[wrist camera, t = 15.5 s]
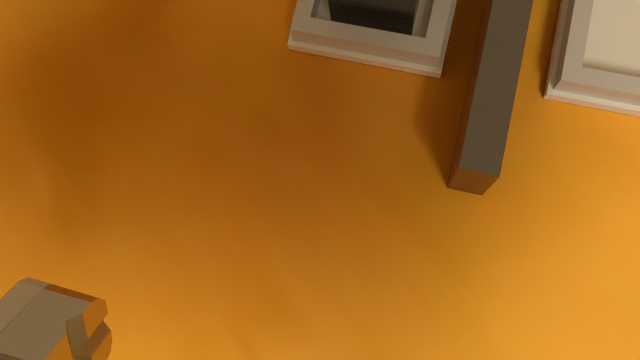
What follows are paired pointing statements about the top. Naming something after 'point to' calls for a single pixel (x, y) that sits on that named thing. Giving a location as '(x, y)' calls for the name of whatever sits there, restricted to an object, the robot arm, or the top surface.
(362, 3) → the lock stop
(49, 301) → the robot arm
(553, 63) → the grey square frame
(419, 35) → the socket
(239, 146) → the top surface
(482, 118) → the door edge rail
